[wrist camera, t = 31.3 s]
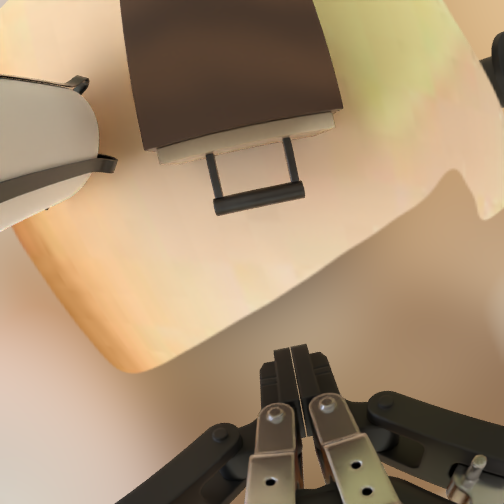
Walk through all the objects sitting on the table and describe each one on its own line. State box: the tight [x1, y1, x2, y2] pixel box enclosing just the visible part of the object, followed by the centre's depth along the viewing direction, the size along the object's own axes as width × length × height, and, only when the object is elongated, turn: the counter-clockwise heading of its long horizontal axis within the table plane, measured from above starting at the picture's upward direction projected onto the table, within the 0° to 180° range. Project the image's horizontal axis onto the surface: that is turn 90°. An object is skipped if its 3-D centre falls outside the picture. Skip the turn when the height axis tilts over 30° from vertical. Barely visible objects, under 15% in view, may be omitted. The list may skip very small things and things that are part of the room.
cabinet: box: [120, 0, 343, 152], centre depth 22 cm, size 17×14×9 cm
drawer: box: [157, 112, 335, 216], centre depth 23 cm, size 20×13×7 cm, turn 12°
